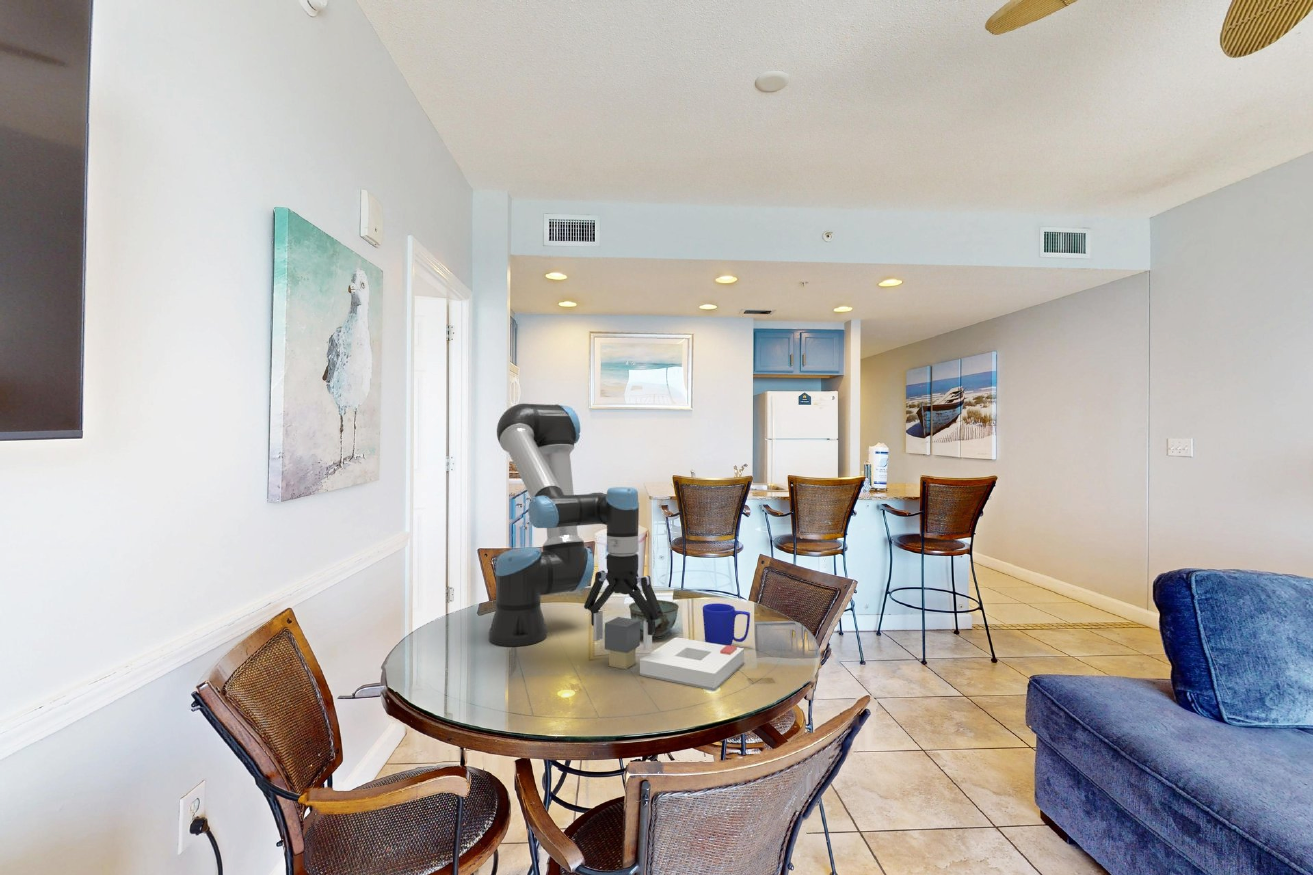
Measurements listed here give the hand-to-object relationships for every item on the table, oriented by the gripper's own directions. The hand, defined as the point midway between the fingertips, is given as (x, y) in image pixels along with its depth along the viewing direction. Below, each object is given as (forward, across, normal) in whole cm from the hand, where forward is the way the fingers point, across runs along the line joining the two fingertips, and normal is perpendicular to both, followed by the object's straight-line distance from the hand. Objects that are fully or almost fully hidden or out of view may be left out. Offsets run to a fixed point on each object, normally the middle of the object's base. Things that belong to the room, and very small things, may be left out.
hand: (622, 644), depth 141 cm
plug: (+5, 0, 0) cm, 5 cm away
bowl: (+5, -4, +23) cm, 24 cm away
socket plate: (+5, +16, +5) cm, 17 cm away
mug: (+5, +17, +23) cm, 29 cm away
